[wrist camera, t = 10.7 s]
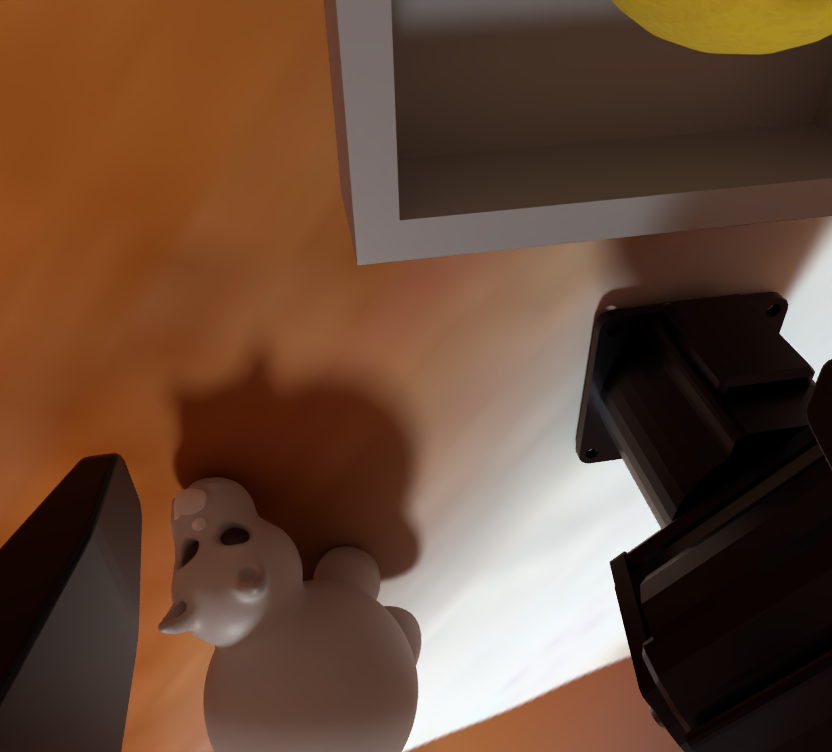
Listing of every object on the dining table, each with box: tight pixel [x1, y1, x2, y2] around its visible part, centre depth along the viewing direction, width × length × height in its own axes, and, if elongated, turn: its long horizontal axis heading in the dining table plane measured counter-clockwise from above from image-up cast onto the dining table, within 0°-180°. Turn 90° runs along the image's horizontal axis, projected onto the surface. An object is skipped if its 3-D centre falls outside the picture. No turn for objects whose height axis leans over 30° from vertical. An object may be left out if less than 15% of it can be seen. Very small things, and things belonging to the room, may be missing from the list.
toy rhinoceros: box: [158, 477, 421, 752], centre depth 25 cm, size 7×12×8 cm, turn 24°
